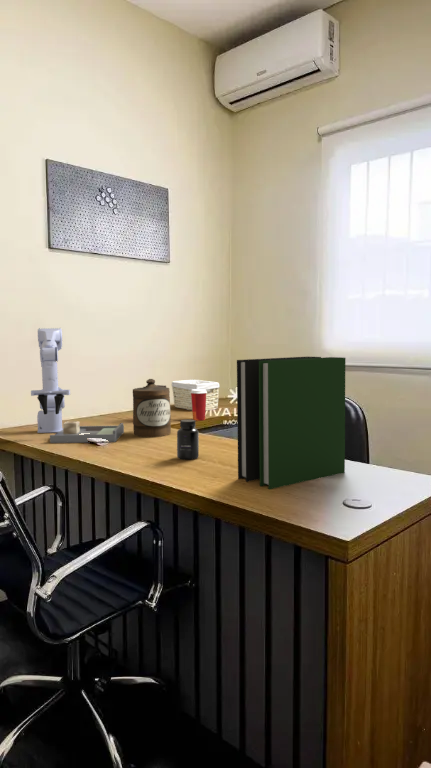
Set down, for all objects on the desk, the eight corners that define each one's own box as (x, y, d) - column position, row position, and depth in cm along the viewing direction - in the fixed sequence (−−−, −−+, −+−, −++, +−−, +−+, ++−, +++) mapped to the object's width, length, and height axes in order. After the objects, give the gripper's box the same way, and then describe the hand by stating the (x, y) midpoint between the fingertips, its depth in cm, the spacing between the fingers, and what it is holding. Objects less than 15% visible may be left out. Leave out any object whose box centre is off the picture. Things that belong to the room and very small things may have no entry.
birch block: (63, 433, 203) (63, 423, 203) (67, 431, 208) (66, 421, 208) (76, 433, 203) (76, 423, 203) (79, 431, 208) (79, 421, 208)
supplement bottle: (182, 461, 164) (181, 422, 163) (173, 457, 170) (173, 419, 169) (202, 458, 167) (201, 421, 166) (193, 454, 173) (192, 418, 172)
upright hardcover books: (271, 490, 132) (270, 361, 129) (234, 477, 144) (233, 359, 141) (344, 472, 148) (345, 357, 145) (306, 462, 160) (306, 356, 157)
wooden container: (139, 438, 202) (137, 381, 201) (129, 432, 216) (127, 378, 214) (176, 435, 208) (174, 379, 207) (164, 429, 222) (162, 376, 220)
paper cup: (210, 418, 248) (209, 389, 247) (202, 421, 241) (202, 390, 240) (195, 418, 251) (194, 388, 250) (187, 420, 244) (187, 390, 243)
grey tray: (50, 443, 196) (49, 432, 196) (64, 433, 216) (64, 423, 215) (115, 441, 196) (114, 431, 196) (123, 432, 216) (123, 422, 216)
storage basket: (221, 409, 281) (220, 381, 280) (196, 412, 271) (195, 383, 270) (194, 405, 300) (194, 379, 298) (170, 408, 290) (170, 381, 289)
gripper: (27, 379, 200) (29, 415, 201) (66, 379, 200) (67, 415, 201) (33, 378, 207) (35, 413, 208) (71, 377, 207) (72, 412, 208)
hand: (51, 413), depth 205 cm, fingers open, 4 cm apart
